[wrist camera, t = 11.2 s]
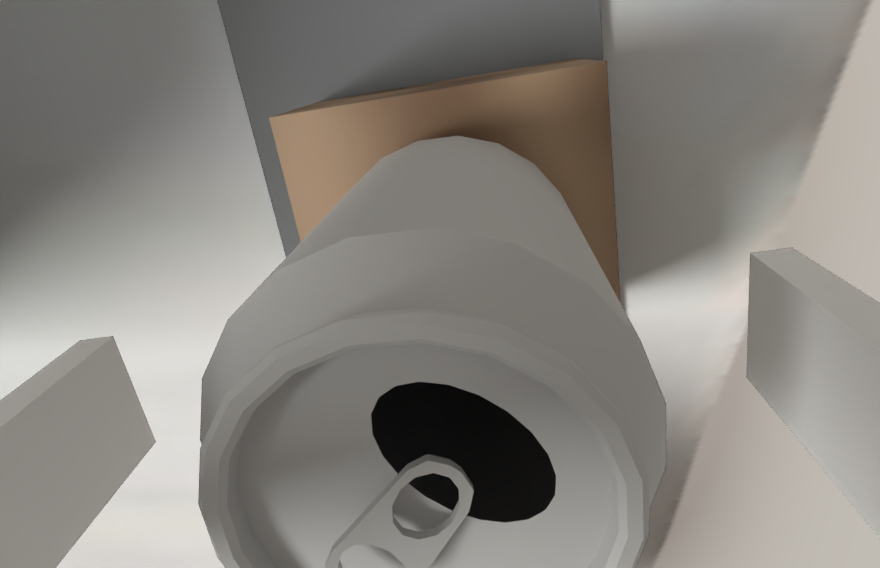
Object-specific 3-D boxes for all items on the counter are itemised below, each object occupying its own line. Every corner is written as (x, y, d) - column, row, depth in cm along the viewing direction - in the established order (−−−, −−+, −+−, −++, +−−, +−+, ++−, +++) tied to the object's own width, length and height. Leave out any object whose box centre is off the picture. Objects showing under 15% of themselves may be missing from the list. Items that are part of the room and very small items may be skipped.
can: (624, 232, 18) (839, 510, 7) (474, 393, 21) (464, 782, 10) (432, 78, 17) (339, 130, 6) (296, 268, 20) (54, 554, 9)
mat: (333, 421, 30) (331, 426, 29) (215, -24, 22) (210, -25, 22) (621, 392, 28) (622, 397, 27) (591, -98, 21) (593, -101, 20)
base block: (370, 327, 27) (341, 400, 21) (319, 101, 23) (268, 117, 18) (593, 301, 26) (624, 370, 20) (575, 58, 22) (606, 61, 17)
